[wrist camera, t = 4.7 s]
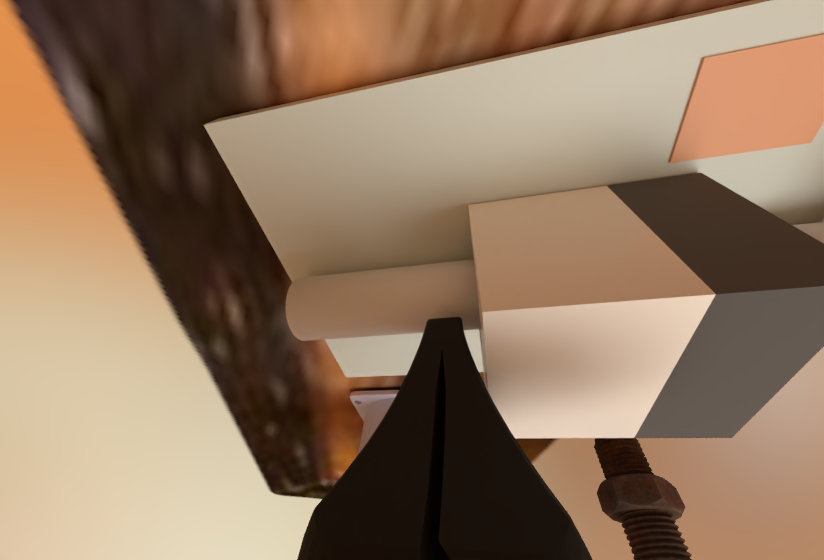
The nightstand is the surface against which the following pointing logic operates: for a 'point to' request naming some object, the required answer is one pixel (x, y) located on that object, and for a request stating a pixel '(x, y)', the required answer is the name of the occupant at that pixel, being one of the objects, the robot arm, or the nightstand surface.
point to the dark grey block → (731, 303)
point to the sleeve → (578, 312)
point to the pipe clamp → (518, 159)
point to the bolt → (640, 501)
